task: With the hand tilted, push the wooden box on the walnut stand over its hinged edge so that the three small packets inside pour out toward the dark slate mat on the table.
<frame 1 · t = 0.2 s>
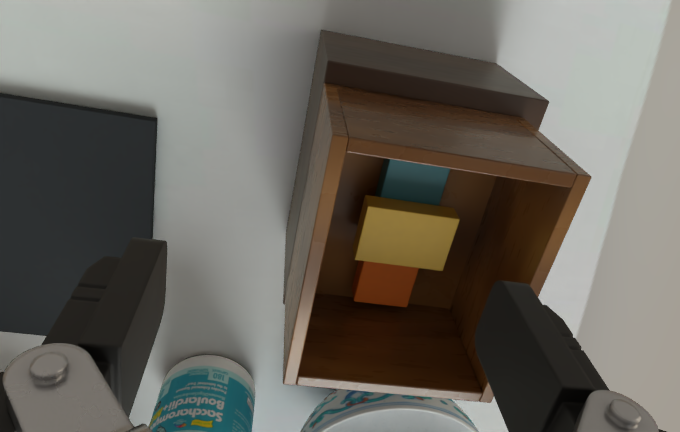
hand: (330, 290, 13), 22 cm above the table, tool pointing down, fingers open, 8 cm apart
orange packet: (386, 258, 29), point 9 cm above the table, touching wooden box, mustard packet
mustard packet: (402, 227, 27), point 10 cm above the table, touching orange packet, teal packet
teal packet: (411, 170, 27), point 9 cm above the table, touching wooden box, mustard packet
wooden box: (408, 245, 26), point 12 cm above the table, hinge at -0.2°, touching orange packet, teal packet
pill bottle: (210, 382, 45), on the table
chinaware: (376, 398, 47), on the table
stand: (384, 154, 36), on the table
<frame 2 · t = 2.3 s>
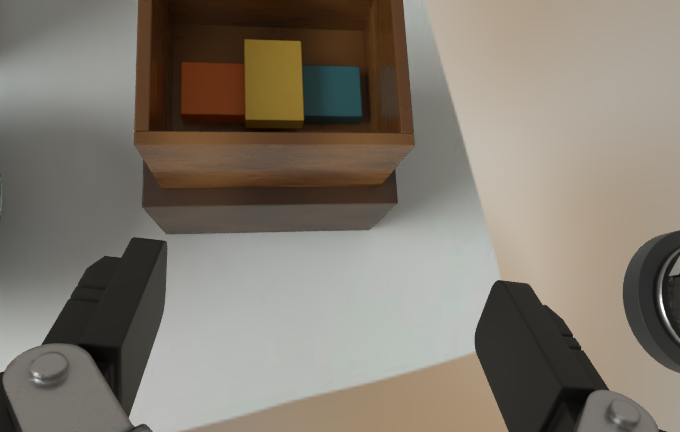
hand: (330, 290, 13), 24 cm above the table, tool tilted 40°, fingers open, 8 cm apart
orange packet: (225, 97, 30), point 9 cm above the table, touching wooden box, mustard packet
mustard packet: (273, 89, 29), point 10 cm above the table, touching orange packet, teal packet
teal packet: (318, 99, 31), point 9 cm above the table, touching wooden box, mustard packet
wooden box: (274, 74, 28), point 12 cm above the table, hinge at -0.2°, touching orange packet, teal packet
stand: (268, 156, 39), on the table
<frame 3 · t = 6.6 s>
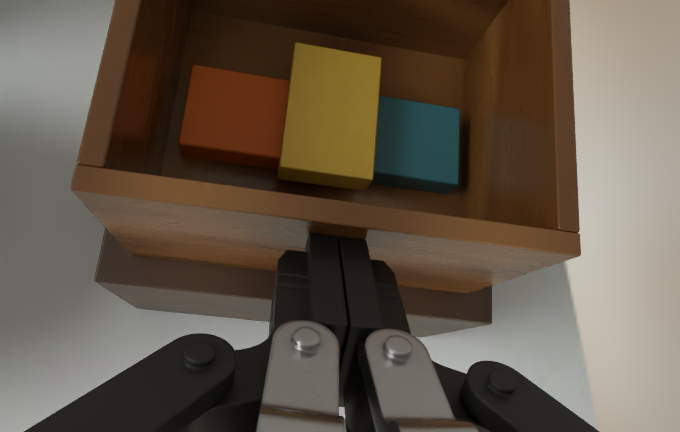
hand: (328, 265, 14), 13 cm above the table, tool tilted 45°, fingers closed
orange packet: (251, 127, 20), point 9 cm above the table, touching wooden box, mustard packet
mustard packet: (327, 124, 19), point 10 cm above the table, touching orange packet, teal packet
teal packet: (390, 149, 20), point 9 cm above the table, touching wooden box, mustard packet
wooden box: (336, 101, 17), point 12 cm above the table, hinge at -0.1°, touching gripper, orange packet, teal packet
stand: (296, 215, 28), on the table
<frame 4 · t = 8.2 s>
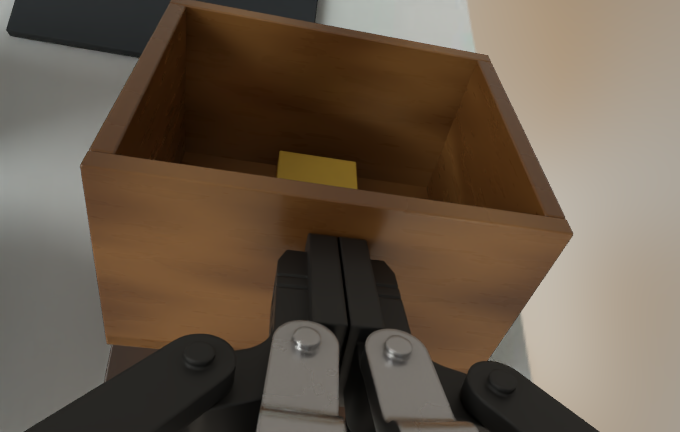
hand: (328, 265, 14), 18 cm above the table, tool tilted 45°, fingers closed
mustard packet: (312, 217, 20), point 12 cm above the table, tilted 31°, touching orange packet, teal packet
wooden box: (320, 182, 19), point 14 cm above the table, hinge at 31.3°, touching gripper, orange packet, teal packet
stand: (280, 311, 31), on the table
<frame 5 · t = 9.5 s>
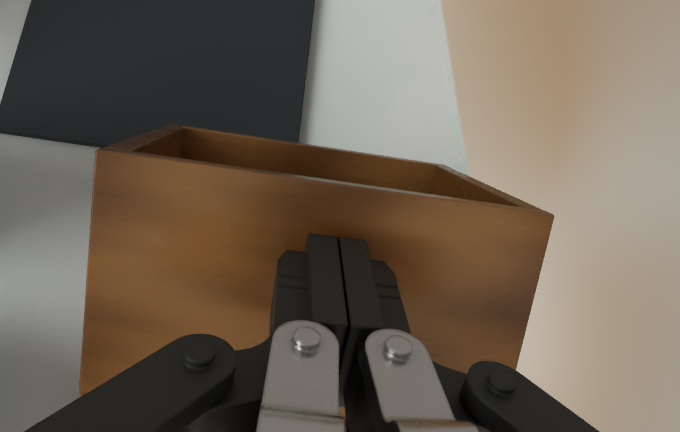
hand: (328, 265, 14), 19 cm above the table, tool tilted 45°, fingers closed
mat: (180, 7, 37), on the table
wooden box: (308, 255, 20), point 14 cm above the table, hinge at 60.5°, touching gripper, mustard packet, orange packet, teal packet
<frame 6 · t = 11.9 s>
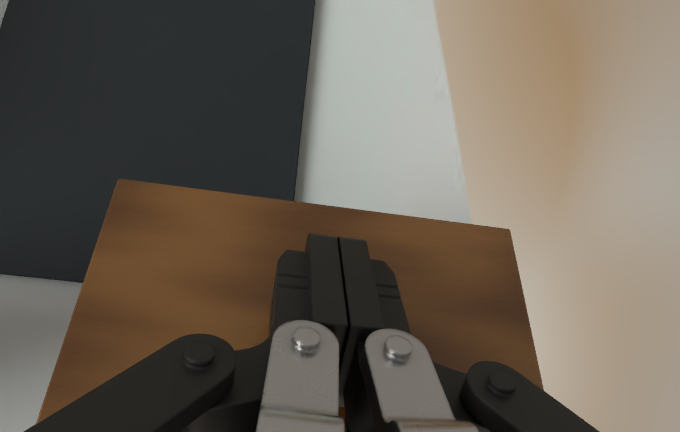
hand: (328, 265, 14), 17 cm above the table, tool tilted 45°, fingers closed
mat: (151, 104, 33), on the table
wooden box: (296, 375, 18), point 12 cm above the table, hinge at 109.0°, touching gripper, mustard packet, orange packet, teal packet
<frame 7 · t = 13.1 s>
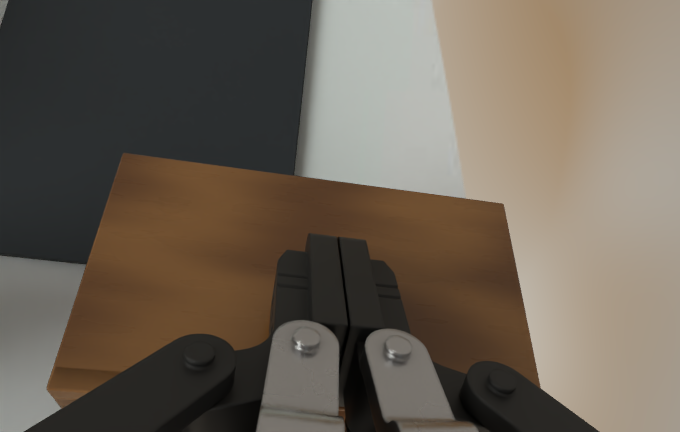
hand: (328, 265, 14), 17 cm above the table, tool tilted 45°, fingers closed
mat: (153, 90, 33), on the table
wooden box: (296, 346, 19), point 12 cm above the table, hinge at 108.3°, touching mustard packet, orange packet, teal packet
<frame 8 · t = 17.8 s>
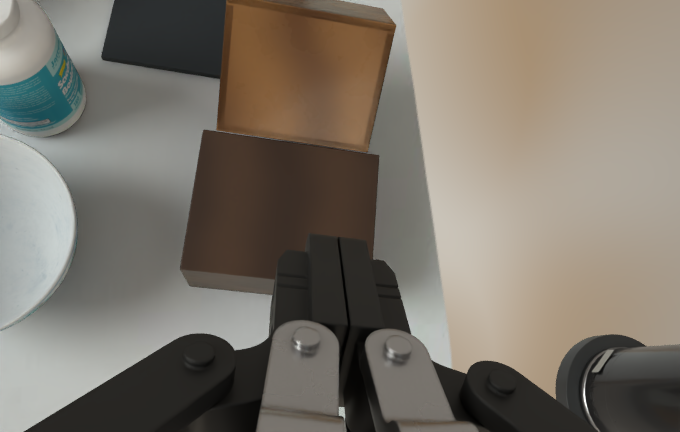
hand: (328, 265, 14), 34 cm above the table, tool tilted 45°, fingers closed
wooden box: (302, 67, 44), point 9 cm above the table, hinge at 133.9°
pill bottle: (44, 102, 49), on the table
chinaware: (4, 255, 45), on the table
stand: (278, 234, 49), on the table
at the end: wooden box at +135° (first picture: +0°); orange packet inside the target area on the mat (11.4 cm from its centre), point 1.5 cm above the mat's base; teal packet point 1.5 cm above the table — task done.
